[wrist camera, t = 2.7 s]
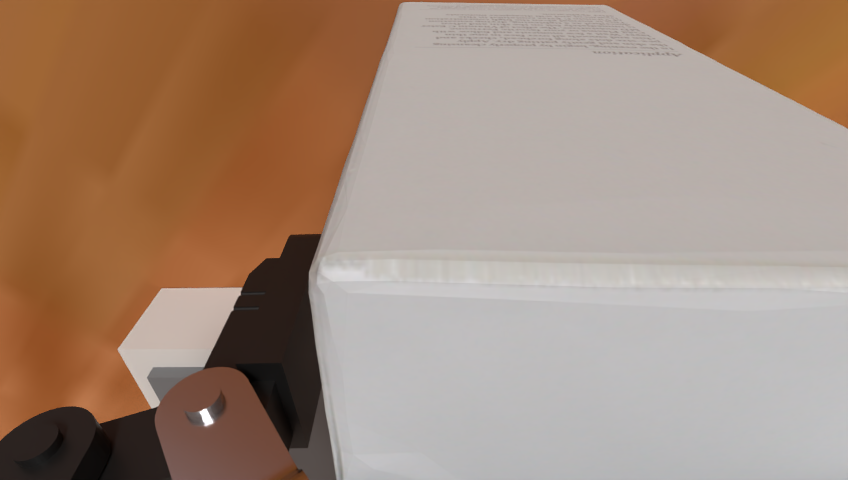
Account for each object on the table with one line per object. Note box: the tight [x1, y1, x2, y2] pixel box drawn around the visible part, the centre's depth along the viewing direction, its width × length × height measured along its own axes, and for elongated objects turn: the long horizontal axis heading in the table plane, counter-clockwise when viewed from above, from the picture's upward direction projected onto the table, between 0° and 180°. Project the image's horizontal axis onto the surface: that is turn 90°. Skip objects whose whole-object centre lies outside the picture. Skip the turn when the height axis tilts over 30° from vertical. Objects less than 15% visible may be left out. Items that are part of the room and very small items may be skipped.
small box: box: [309, 2, 848, 480], centre depth 11 cm, size 8×6×13 cm
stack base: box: [118, 288, 336, 480], centre depth 23 cm, size 14×14×4 cm
